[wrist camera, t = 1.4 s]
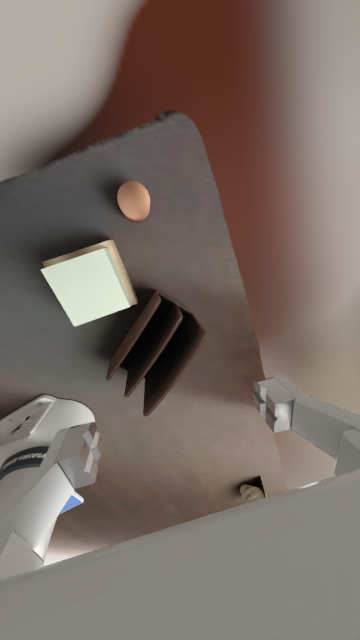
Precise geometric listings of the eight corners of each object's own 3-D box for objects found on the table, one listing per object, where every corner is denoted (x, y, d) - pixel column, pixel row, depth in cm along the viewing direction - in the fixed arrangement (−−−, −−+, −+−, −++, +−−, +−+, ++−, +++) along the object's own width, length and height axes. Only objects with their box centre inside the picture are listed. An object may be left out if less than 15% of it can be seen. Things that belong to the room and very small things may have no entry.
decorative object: (236, 488, 74) (240, 472, 71) (261, 492, 74) (267, 476, 70) (242, 530, 63) (248, 513, 60) (272, 536, 62) (280, 520, 59)
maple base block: (84, 317, 39) (77, 324, 36) (52, 261, 35) (41, 262, 31) (138, 298, 40) (137, 303, 36) (113, 240, 35) (110, 239, 32)
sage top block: (81, 318, 36) (74, 326, 32) (52, 267, 32) (40, 269, 28) (131, 301, 36) (130, 306, 32) (108, 248, 32) (103, 248, 29)
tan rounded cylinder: (128, 226, 35) (125, 222, 30) (116, 195, 33) (111, 186, 28) (153, 217, 35) (154, 212, 30) (143, 186, 33) (143, 176, 28)
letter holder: (192, 312, 43) (213, 339, 30) (146, 376, 47) (147, 424, 34) (156, 289, 40) (161, 308, 27) (110, 359, 44) (94, 406, 30)
